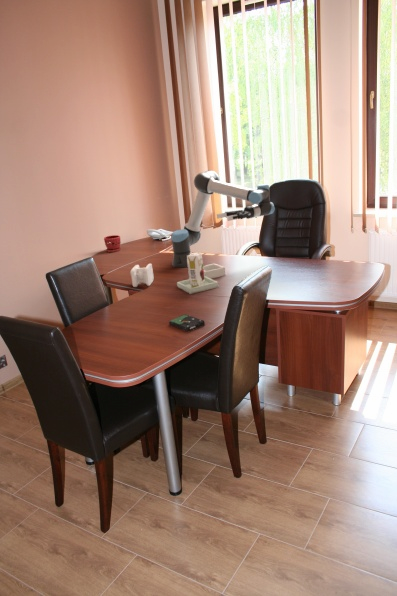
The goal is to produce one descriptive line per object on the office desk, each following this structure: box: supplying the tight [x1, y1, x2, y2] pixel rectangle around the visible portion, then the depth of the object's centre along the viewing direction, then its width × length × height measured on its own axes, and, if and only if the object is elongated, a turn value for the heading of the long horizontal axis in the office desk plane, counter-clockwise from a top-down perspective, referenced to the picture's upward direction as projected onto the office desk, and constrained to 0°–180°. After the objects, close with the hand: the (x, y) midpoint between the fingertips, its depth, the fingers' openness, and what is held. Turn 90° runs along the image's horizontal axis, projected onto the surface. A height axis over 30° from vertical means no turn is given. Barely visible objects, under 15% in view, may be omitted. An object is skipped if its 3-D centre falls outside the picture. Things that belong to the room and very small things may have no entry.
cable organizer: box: [129, 263, 155, 288], centre depth 301 cm, size 15×11×12 cm
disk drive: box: [168, 314, 206, 332], centre depth 231 cm, size 10×3×15 cm
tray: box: [176, 276, 219, 295], centre depth 285 cm, size 18×18×3 cm
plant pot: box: [103, 234, 122, 253], centre depth 404 cm, size 13×13×12 cm
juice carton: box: [187, 252, 205, 287], centre depth 283 cm, size 8×9×19 cm
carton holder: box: [203, 263, 226, 280], centre depth 305 cm, size 13×13×5 cm
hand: (222, 217), depth 302 cm, fingers open, 13 cm apart
